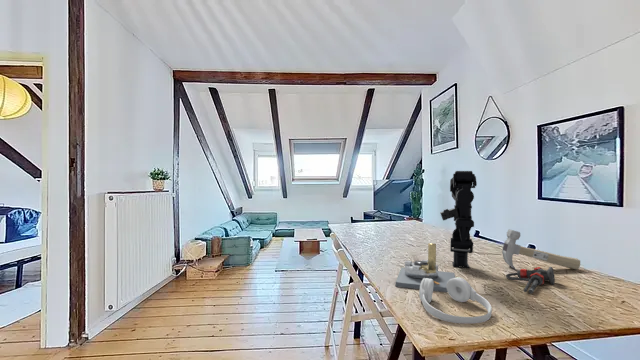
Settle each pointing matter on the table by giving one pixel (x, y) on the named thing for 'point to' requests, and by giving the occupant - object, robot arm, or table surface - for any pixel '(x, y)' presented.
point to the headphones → (457, 291)
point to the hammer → (534, 253)
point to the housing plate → (415, 283)
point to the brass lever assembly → (423, 265)
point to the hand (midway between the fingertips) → (462, 241)
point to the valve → (534, 277)
